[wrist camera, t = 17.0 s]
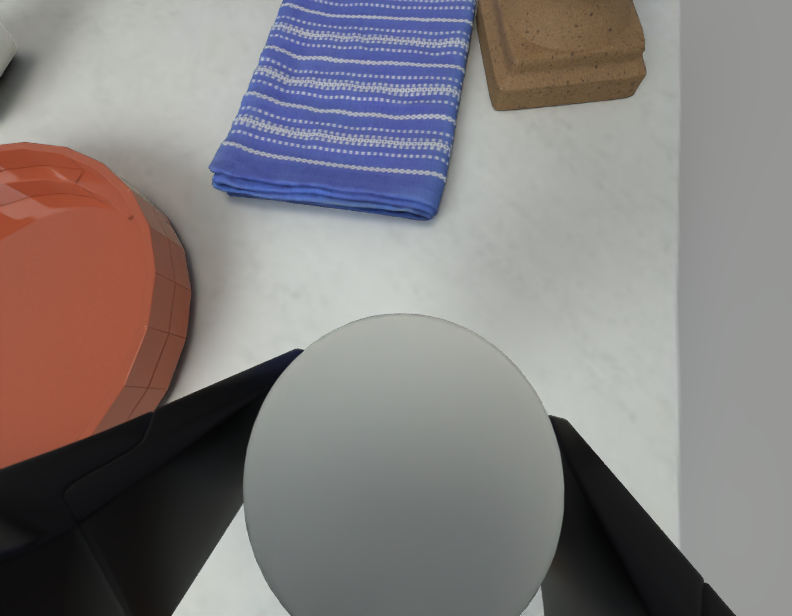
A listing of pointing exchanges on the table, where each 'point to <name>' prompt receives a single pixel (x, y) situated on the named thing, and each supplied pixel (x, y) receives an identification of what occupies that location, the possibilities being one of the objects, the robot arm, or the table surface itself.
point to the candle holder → (559, 51)
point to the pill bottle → (403, 476)
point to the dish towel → (352, 107)
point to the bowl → (81, 300)
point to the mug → (6, 48)
